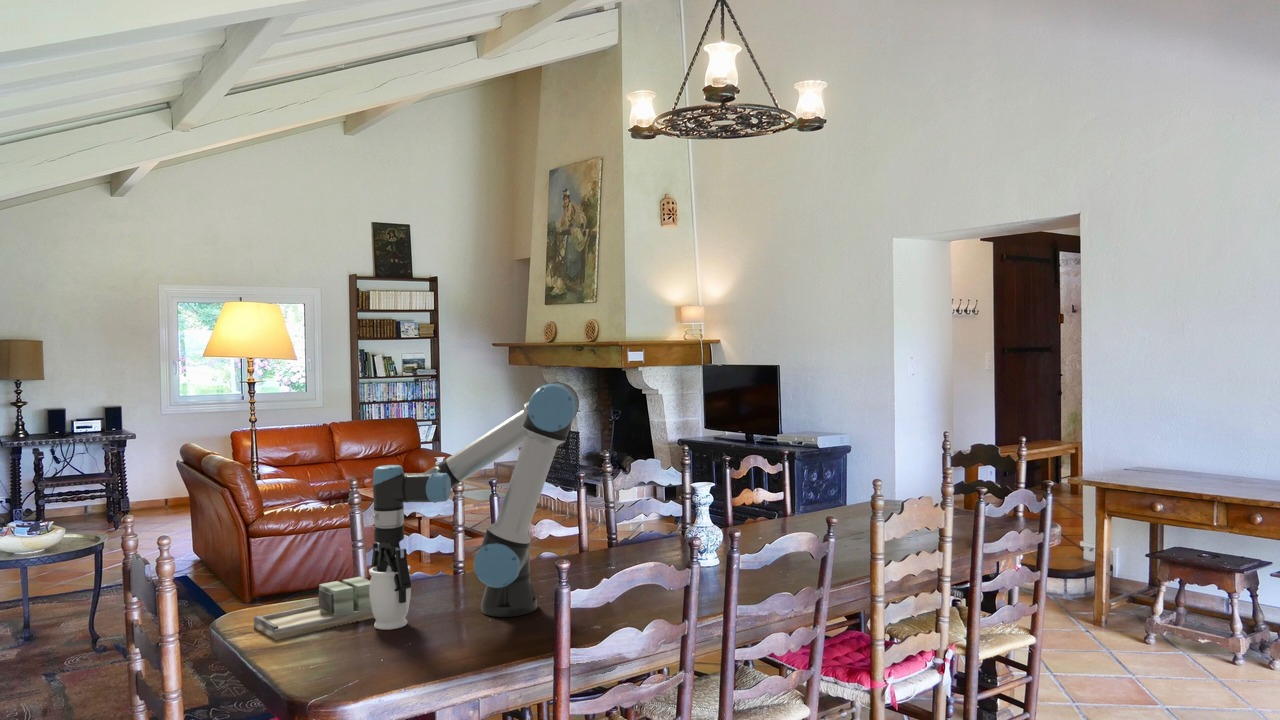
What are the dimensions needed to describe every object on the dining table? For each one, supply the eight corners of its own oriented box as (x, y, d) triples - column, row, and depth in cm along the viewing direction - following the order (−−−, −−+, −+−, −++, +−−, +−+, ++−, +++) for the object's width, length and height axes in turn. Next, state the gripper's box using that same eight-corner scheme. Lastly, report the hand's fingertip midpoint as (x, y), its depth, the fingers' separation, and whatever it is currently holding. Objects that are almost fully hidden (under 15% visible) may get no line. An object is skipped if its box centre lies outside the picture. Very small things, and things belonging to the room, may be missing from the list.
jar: (400, 632, 230) (398, 573, 230) (362, 630, 232) (361, 572, 232) (418, 620, 241) (417, 563, 240) (382, 618, 243) (381, 562, 242)
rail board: (380, 616, 245) (380, 584, 245) (276, 640, 226) (275, 605, 226) (355, 605, 256) (355, 575, 256) (253, 627, 237) (253, 594, 237)
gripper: (355, 521, 242) (357, 604, 242) (396, 533, 225) (398, 623, 225) (381, 517, 247) (383, 599, 247) (424, 529, 230) (425, 616, 230)
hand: (390, 610), depth 236 cm, fingers closed on jar, 10 cm apart
